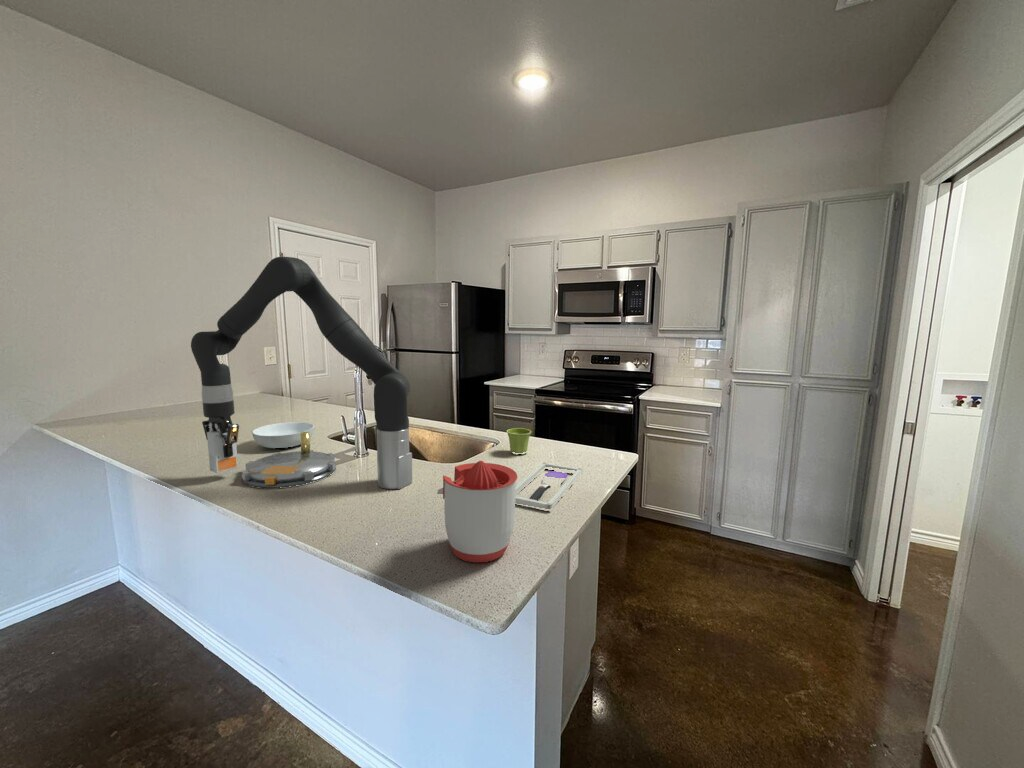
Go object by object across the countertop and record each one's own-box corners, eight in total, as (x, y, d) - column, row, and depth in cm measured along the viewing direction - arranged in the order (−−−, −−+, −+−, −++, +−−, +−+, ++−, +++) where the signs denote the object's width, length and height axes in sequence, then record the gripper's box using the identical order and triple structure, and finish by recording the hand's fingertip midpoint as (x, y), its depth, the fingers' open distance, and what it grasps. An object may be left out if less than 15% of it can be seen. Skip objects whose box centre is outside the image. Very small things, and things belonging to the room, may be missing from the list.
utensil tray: (581, 474, 138) (582, 469, 138) (550, 512, 110) (550, 505, 109) (543, 468, 144) (543, 462, 143) (504, 502, 115) (504, 495, 115)
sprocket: (348, 456, 147) (347, 431, 146) (317, 485, 120) (316, 454, 119) (270, 455, 145) (268, 430, 144) (221, 484, 119) (219, 453, 118)
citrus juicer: (454, 525, 101) (454, 445, 98) (523, 538, 96) (526, 454, 93) (422, 560, 86) (421, 466, 84) (502, 576, 81) (504, 478, 79)
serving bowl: (268, 438, 171) (267, 421, 170) (322, 438, 173) (321, 421, 172) (241, 454, 150) (240, 435, 149) (303, 453, 153) (302, 435, 152)
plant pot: (501, 453, 158) (501, 431, 157) (515, 448, 166) (515, 426, 165) (521, 458, 153) (522, 435, 152) (535, 452, 161) (536, 430, 160)
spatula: (540, 509, 112) (540, 501, 112) (517, 504, 115) (517, 495, 115) (567, 480, 134) (568, 473, 133) (547, 476, 137) (548, 469, 136)
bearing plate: (353, 467, 140) (353, 464, 139) (282, 495, 116) (282, 491, 116) (298, 455, 150) (298, 452, 150) (223, 478, 127) (223, 475, 126)
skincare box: (216, 473, 123) (212, 434, 121) (209, 471, 125) (205, 432, 123) (239, 468, 128) (235, 429, 126) (232, 465, 130) (228, 427, 128)
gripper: (246, 399, 124) (251, 455, 126) (216, 395, 130) (221, 449, 132) (220, 404, 117) (225, 463, 119) (189, 399, 123) (195, 456, 125)
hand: (223, 455), depth 126 cm, fingers closed on skincare box, 4 cm apart
